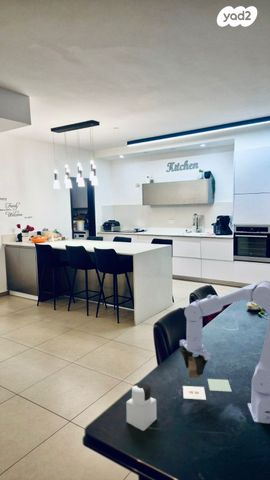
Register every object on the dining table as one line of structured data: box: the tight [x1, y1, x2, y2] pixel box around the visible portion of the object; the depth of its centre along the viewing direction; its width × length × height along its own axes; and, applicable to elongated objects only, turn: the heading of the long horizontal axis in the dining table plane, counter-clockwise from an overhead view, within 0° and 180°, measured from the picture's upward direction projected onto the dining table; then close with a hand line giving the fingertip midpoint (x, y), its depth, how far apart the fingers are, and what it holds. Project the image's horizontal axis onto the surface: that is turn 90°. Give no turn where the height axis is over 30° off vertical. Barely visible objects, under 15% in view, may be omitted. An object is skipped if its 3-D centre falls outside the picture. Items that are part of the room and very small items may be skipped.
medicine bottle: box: [125, 382, 157, 432], centre depth 101 cm, size 7×7×12 cm
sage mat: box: [207, 378, 233, 392], centre depth 121 cm, size 8×8×1 cm
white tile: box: [182, 385, 207, 401], centre depth 117 cm, size 8×8×1 cm
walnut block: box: [187, 355, 201, 379], centre depth 116 cm, size 4×4×6 cm
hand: (194, 370), depth 116 cm, fingers closed on walnut block, 6 cm apart
